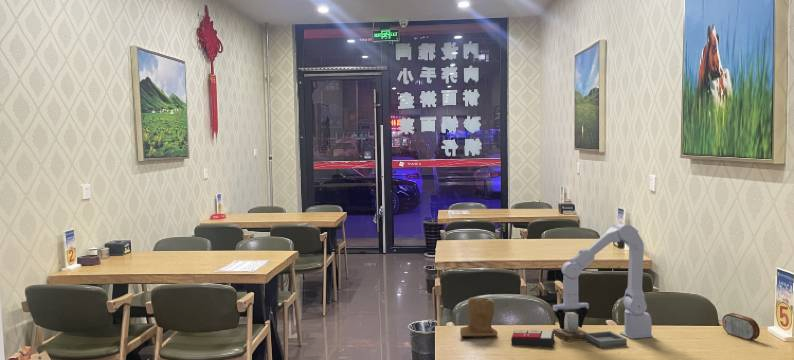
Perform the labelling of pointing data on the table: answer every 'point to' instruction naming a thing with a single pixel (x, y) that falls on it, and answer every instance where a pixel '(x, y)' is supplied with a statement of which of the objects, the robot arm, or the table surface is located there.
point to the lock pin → (571, 323)
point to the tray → (605, 339)
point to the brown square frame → (566, 336)
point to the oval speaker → (741, 326)
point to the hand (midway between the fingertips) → (570, 327)
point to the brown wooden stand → (479, 318)
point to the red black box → (533, 338)
